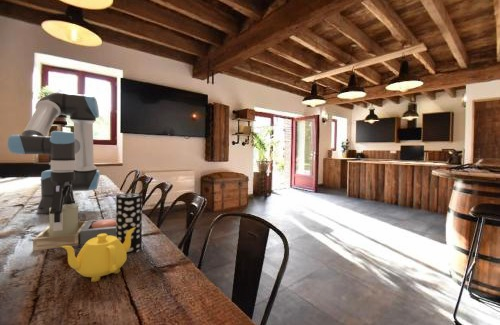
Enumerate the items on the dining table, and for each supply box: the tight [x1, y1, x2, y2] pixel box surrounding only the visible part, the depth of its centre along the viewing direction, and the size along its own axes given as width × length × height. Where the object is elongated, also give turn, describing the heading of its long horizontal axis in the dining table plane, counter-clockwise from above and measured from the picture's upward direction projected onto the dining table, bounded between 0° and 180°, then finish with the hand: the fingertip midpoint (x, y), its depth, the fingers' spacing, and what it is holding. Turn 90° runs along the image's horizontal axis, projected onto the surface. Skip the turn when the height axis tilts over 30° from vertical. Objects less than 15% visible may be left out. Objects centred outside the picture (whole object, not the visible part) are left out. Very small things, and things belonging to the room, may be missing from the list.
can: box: [48, 204, 79, 237], centre depth 93 cm, size 9×9×12 cm
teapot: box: [60, 227, 136, 283], centre depth 70 cm, size 20×15×12 cm
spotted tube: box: [115, 192, 143, 255], centre depth 85 cm, size 8×8×20 cm
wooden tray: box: [32, 220, 88, 251], centre depth 93 cm, size 18×13×4 cm
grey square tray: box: [79, 217, 116, 245], centre depth 98 cm, size 14×14×5 cm
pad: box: [92, 219, 116, 229], centre depth 98 cm, size 9×9×2 cm
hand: (63, 224), depth 93 cm, fingers open, 13 cm apart
